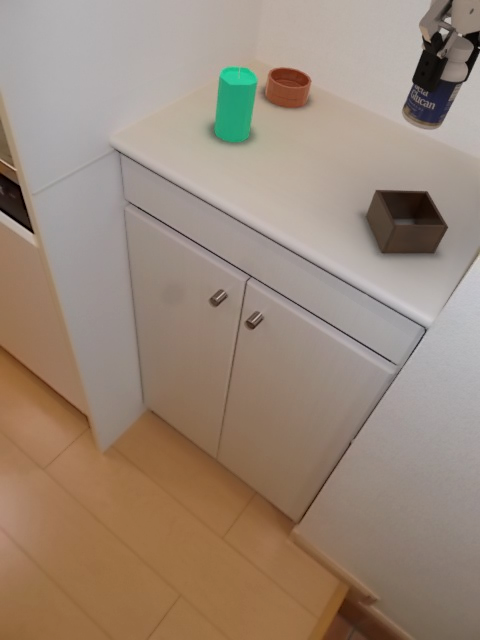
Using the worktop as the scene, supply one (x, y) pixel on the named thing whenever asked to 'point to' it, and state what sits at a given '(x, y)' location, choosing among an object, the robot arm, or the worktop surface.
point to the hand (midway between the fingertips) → (439, 80)
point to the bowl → (287, 87)
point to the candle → (235, 103)
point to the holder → (405, 207)
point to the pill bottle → (439, 89)
